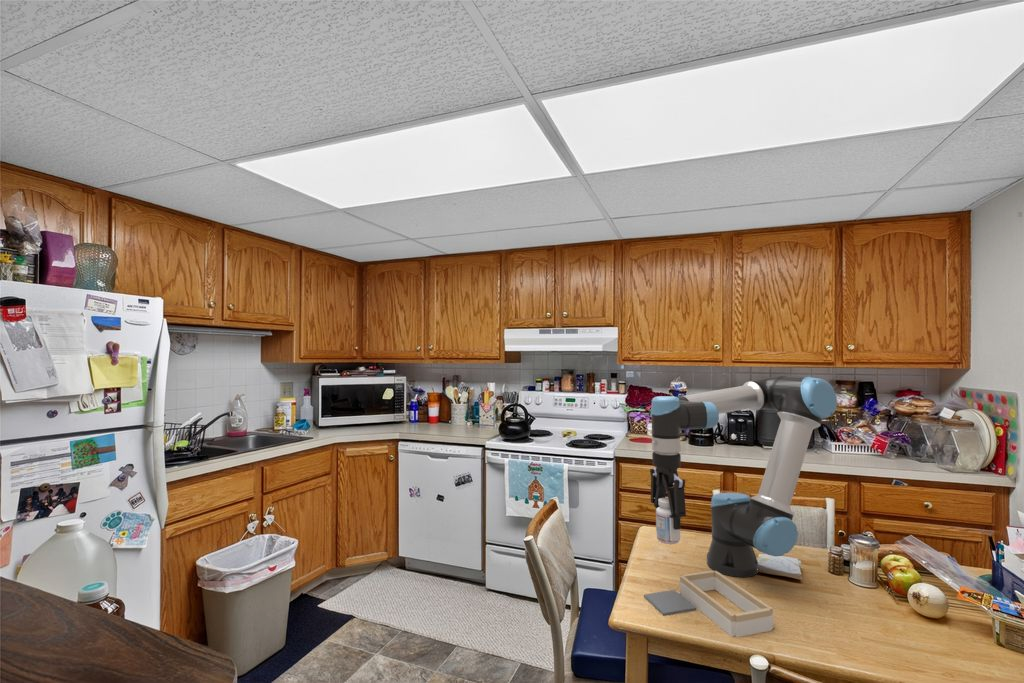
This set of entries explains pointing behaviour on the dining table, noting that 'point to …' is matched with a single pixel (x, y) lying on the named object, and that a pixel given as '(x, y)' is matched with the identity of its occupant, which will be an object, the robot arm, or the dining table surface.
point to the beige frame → (739, 624)
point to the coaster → (669, 602)
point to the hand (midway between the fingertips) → (668, 535)
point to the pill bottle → (663, 521)
